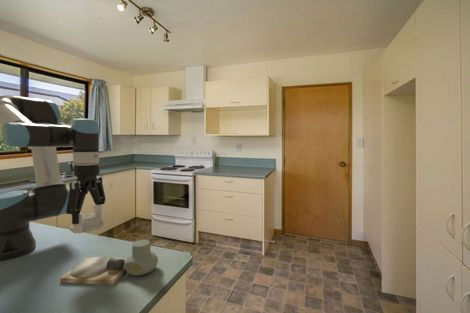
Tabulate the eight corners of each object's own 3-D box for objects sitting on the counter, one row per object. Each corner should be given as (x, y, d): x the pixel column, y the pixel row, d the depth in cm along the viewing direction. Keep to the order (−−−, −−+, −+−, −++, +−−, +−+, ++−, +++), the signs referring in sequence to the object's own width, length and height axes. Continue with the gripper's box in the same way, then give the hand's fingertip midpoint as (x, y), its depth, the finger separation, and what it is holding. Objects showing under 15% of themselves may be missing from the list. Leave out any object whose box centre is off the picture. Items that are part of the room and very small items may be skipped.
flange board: (60, 282, 72) (59, 268, 72) (87, 260, 85) (87, 248, 85) (113, 285, 72) (113, 270, 72) (132, 262, 85) (132, 250, 84)
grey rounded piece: (119, 274, 77) (119, 246, 77) (135, 262, 86) (135, 236, 85) (148, 280, 75) (148, 250, 74) (161, 266, 83) (162, 240, 82)
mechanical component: (62, 232, 77) (88, 234, 75) (62, 219, 76) (88, 221, 75) (87, 222, 86) (110, 224, 85) (86, 210, 86) (110, 212, 84)
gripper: (73, 167, 68) (76, 240, 69) (115, 161, 91) (116, 217, 92) (49, 167, 68) (51, 240, 70) (96, 161, 91) (97, 216, 92)
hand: (88, 227), depth 81 cm, fingers closed on mechanical component, 10 cm apart
